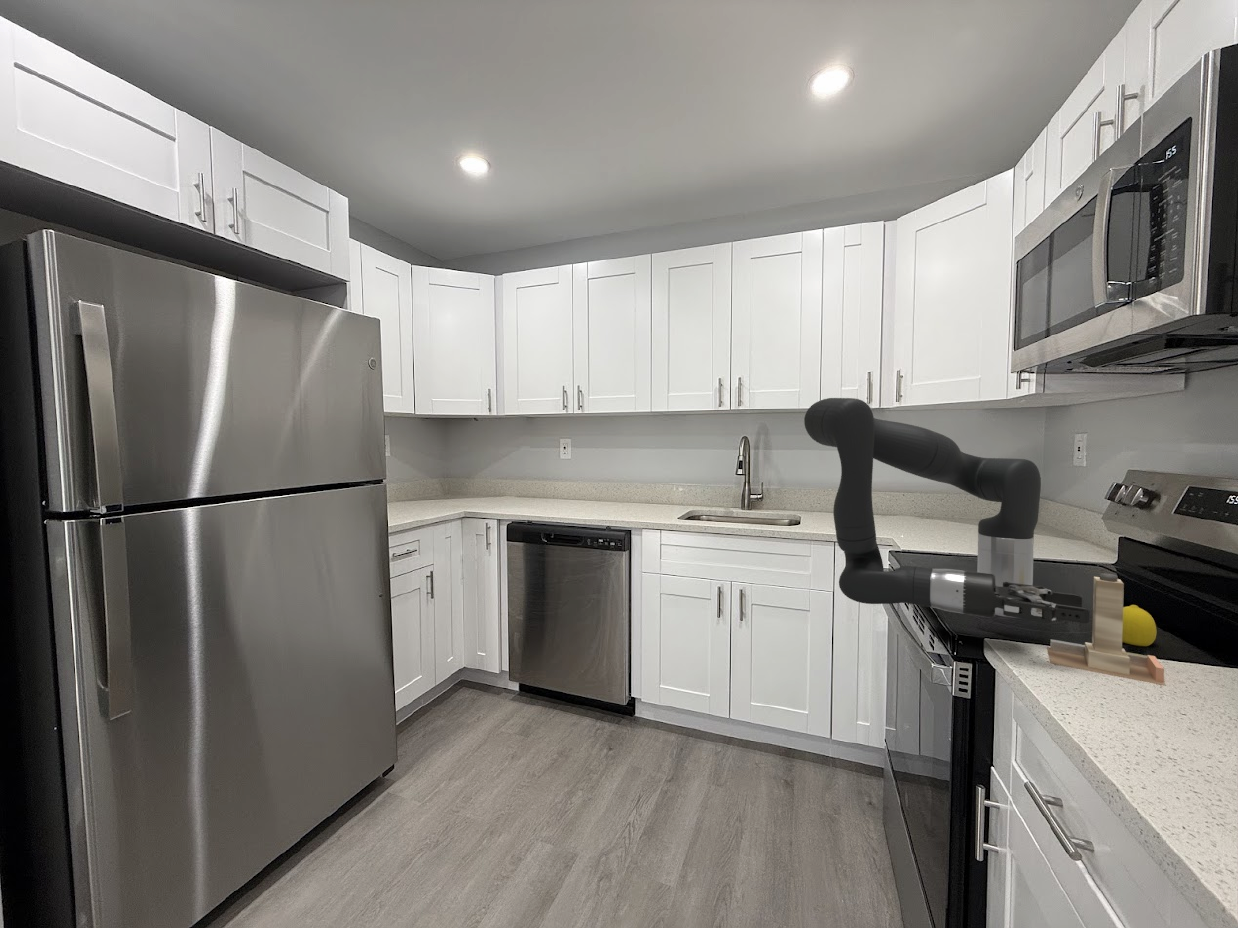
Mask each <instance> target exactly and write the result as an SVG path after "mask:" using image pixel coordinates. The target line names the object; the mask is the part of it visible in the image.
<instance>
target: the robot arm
mask: <svg viewBox="0 0 1238 928" xmlns="http://www.w3.org/2000/svg"><path fill="white" fill-rule="evenodd" d="M803 419H804V421H803V423H804V428H805V430H806V432H807V434H808V436H809V437H810V438H811V439H812V440H813V441H815V442H816V443H817V444H820V445H822V446H825V447H833V448H836V449H837V453H838V456H839V459H840V460H839V461H840V468H841V469H840V470H841V475H840V482H839V485H838V489H837V492H836V495H835V498H834V504H833V521H834V528H835V535H836V541H837V545H838V547H839V549H840V550H841V551H843V553H844V558H845V566H844V568H843V570H842V572H841V573H840V575H839V580H838V585H839V587H838V588H839V589H840V591H841V593H842V594H844V596H846V597H847V598H848V599H850V600H852V601H854V602H858V603H861V604H867V605H886V604H887V605H891V604H910V605H915V606H922V607H928V608H934V609H939V610H942V611H945V612H950V613H957V614H962V615H969V616H976V617H982V618H986V619H987V618H988V619H993V618H995V617H996V616H1000V617H1006V618H1013V619H1014V618H1015V619H1023V620H1029V621H1030V620H1031V621H1036V622H1042V623H1046V624H1050V623H1051V624H1052V622H1053V621H1057V620H1061V621H1065V622H1066V621H1067V622H1072V623H1073V622H1074V623H1078V624H1079V623H1081V624H1088V623H1090V610H1089V609H1088V608H1086V607H1083V598H1082V596H1081V595H1079V594H1074V593H1066V592H1060V591H1052V590H1051V589H1048V588H1046V587H1045V586H1043V585H1034V584H1033V583H1034V537H1035V529H1036V527H1037V525H1038V521H1039V511H1040V499H1041V490H1042V489H1041V488H1042V482H1041V481H1042V480H1041V479H1042V478H1041V473H1040V470H1039V468H1038V466H1037V465H1036V463H1034V462H1033V461H1032V460H1029V459H1026V458H1009V457H1008V458H1002V457H1001V458H1000V457H999V458H995V457H994V458H993V457H983V456H982V457H981V456H977V455H972V454H969V453H966V452H963V451H961V448H960V447H959V445H958V444H957V443H956V442H955V440H953V439H951V438H950V437H948V436H946V435H944V434H942V433H939V432H937V431H933V430H931V429H928V428H925V427H922V426H917V425H914V424H908V423H904V422H898V421H892V420H886V419H885V420H884V419H880V418H876V417H874V413H873V410H872V408H871V407H870V405H869V404H868V403H867V402H865V401H864V400H862V399H859V398H855V397H854V398H852V397H850V398H849V397H828V398H824V399H821V400H817V401H816V402H814V403H813V404H812V405H810V406H809V408H808V409H807V410H806V413H805V415H804V418H803ZM874 460H876V461H878V462H881V463H883V464H886V465H888V466H891V467H893V468H894V469H897V470H900V471H902V472H905V473H908V474H911V475H914V476H918V477H921V478H923V479H927V480H931V481H935V482H939V483H943V484H948V485H951V486H954V487H956V488H958V489H960V490H963V491H964V492H966V493H968V494H970V495H972V496H974V497H977V498H978V499H980V500H984V501H986V502H987V501H988V502H995V503H1000V509H999V512H998V513H996V514H995V515H994V516H991V517H986V518H983V519H980V520H979V521H978V526H977V565H976V566H977V570H976V571H969V570H961V569H952V568H932V567H923V566H915V565H902V566H900V567H897V569H895V570H891V571H887V570H886V571H884V564H883V563H884V562H883V558H882V555H881V554H882V553H881V552H880V549H879V545H878V543H877V533H876V531H877V530H876V524H875V518H874V510H873V508H874V507H873V495H872V494H873V490H872V489H873V469H874V468H873V467H874Z"/></svg>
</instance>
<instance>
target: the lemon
mask: <svg viewBox="0 0 1238 928" xmlns="http://www.w3.org/2000/svg"><path fill="white" fill-rule="evenodd" d="M1156 638H1157V624H1156V622H1155V620H1154V618H1153V617H1152V615H1151V614H1150V613H1149V612H1148V611H1147V610H1144V609H1143V608H1141V607H1139V606H1138V605H1136V604H1130V605H1129V606H1128V605H1127V606H1123V631H1122V643H1125V644H1127V645H1131V646H1137V647H1149V646H1150V645H1152V644H1153V643H1154V641H1155V640H1156Z"/></svg>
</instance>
